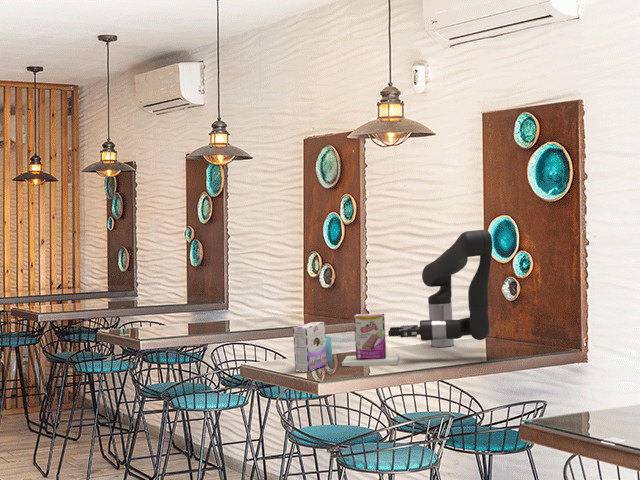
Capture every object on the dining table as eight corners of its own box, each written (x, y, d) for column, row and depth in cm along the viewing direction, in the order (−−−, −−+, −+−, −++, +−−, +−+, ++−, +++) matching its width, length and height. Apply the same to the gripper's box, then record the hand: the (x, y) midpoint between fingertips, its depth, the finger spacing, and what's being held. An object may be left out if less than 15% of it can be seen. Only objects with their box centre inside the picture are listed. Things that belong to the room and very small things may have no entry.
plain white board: (347, 359, 315) (346, 356, 315) (399, 357, 312) (399, 354, 312) (342, 366, 301) (342, 362, 301) (397, 364, 298) (396, 360, 298)
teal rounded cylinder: (315, 360, 319) (313, 337, 319) (333, 359, 318) (331, 336, 318) (313, 363, 312) (311, 339, 312) (331, 362, 311) (329, 338, 311)
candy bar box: (356, 360, 304) (353, 315, 304) (357, 357, 309) (354, 314, 309) (386, 358, 303) (383, 314, 303) (387, 356, 308) (384, 312, 308)
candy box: (314, 365, 308) (311, 321, 308) (328, 365, 305) (325, 321, 305) (295, 372, 296) (292, 326, 296) (308, 373, 293) (305, 327, 293)
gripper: (433, 343, 295) (388, 344, 297) (434, 337, 309) (390, 339, 311) (432, 322, 295) (387, 324, 297) (433, 317, 309) (389, 319, 311)
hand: (389, 331), depth 304 cm, fingers open, 8 cm apart
